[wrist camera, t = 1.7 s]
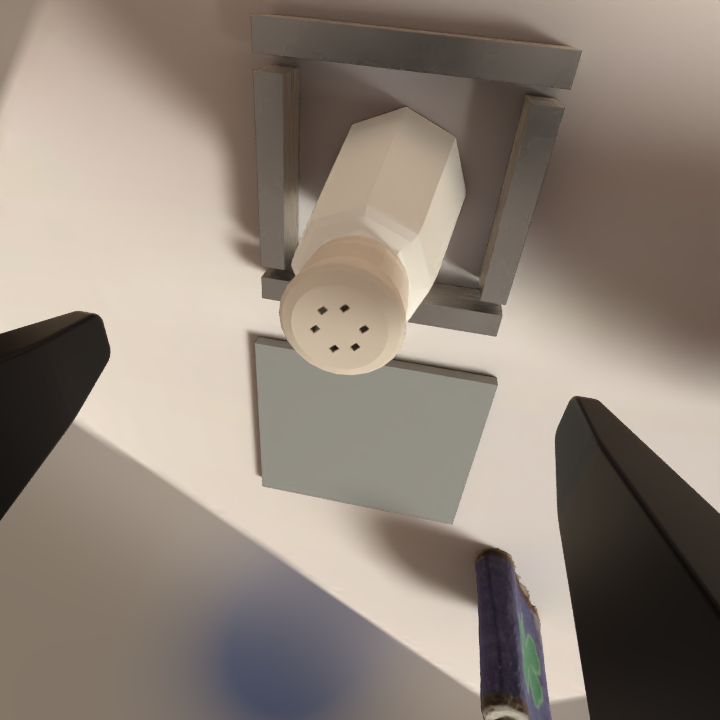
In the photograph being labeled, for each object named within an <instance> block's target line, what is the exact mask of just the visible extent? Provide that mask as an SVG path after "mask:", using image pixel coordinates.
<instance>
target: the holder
mask: <svg viewBox="0 0 720 720" xmlns="http://www.w3.org/2000/svg"><path fill="white" fill-rule="evenodd" d="M251 31H252V52H253V53H261V54H270V55H278V56H287V57H295V58H304V59H313V60H321V61H330V62H338V63H347V64H355V65H364V66H372V67H381V68H390V69H398V70H407V71H415V72H424V73H432V74H441V75H449V76H458V77H466V78H475V79H484V80H492V81H501V82H509V83H518V84H526V85H535V86H543V87H552V88H560V89H569V90H570V89H571V86H572V82H573V79H574V76H575V72H576V69H577V66H578V62H579V59H580V56H581V52H582V51H581V50H579V49H576V48H573V47H570V46H561V45H552V44H543V43H533V42H524V41H515V40H506V39H497V38H488V37H478V36H469V35H460V34H451V33H442V32H433V31H423V30H414V29H405V28H396V27H387V26H378V25H368V24H359V23H350V22H341V21H332V20H323V19H313V18H304V17H295V16H286V15H277V14H251ZM253 81H254V106H255V130H256V155H257V180H258V205H259V230H260V255H261V266H263V267H269V268H268V269H267V270H266V272H265V273H264V274H263V276H262V277H261V279H262V298H265V299H271V300H277V301H281V297H282V295H283V293H284V291H285V289H286V287H287V285H288V284H289V283H290V282H291V281H292V279H293V278H294V277H295V274H294V271H293V269H292V266H291V263H292V258H293V257H294V254H295V251H296V249H297V247H298V179H299V68H295V67H286V66H278V65H270V66H267V67H263V68H260V69H256V70H253ZM564 109H565V108H564V107H563V106H562V105H561V104H560V103H559V102H558V101H557V100H556V99H555V98H547V97H539V96H530V95H526V96H525V100H524V104H523V108H522V112H521V115H520V119H519V123H518V127H517V131H516V135H515V139H514V143H513V147H512V151H511V155H510V159H509V163H508V167H507V171H506V175H505V179H504V183H503V186H502V190H501V194H500V198H499V202H498V206H497V210H496V214H495V218H494V222H493V226H492V230H491V234H490V238H489V242H488V246H487V250H486V253H485V257H484V261H483V265H482V269H481V273H480V277H479V286H480V289H474V288H467V287H461V286H454V285H448V284H442V283H435V282H434V283H433V285H432V287H431V289H430V290H429V292H428V293H427V295H426V296H425V298H424V299H423V301H422V302H421V303H420V305H419V306H418V308H417V309H416V311H415V312H414V313H413V315H412V316H411V318H410V319H409V320H408V322H411V323H417V324H423V325H429V326H435V327H441V328H447V329H453V330H459V331H465V332H471V333H477V334H484V335H490V336H497V332H498V329H499V326H500V322H501V319H502V308H501V304H503V305H506V302H507V299H508V296H509V292H510V289H511V286H512V282H513V279H514V276H515V272H516V269H517V266H518V262H519V259H520V256H521V252H522V249H523V246H524V242H525V239H526V236H527V232H528V229H529V226H530V222H531V219H532V216H533V212H534V209H535V206H536V202H537V199H538V196H539V192H540V189H541V186H542V182H543V179H544V176H545V172H546V169H547V166H548V162H549V159H550V156H551V152H552V149H553V146H554V142H555V139H556V136H557V132H558V129H559V126H560V122H561V119H562V116H563V112H564Z"/></svg>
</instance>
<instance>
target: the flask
mask: <svg viewBox="0 0 720 720" xmlns="http://www.w3.org/2000/svg"><path fill="white" fill-rule="evenodd" d="M475 558H476V560H475V568H476V574H477V592H478V616H479V646H480V678H481V684H480V688H481V690H480V698H481V711H482V714H483V718H484V720H552V719H551V712H550V705H549V697H548V690H547V681H546V673H545V664H544V654H543V646H542V637H541V632H540V630H541V623H540V620H539V617H538V613H537V609H536V607H534V608H533V606H532V605H531V602H530V600H529V599H530V598H529V597H530V596H529V594H528V592H529V591H527V590H526V587H524V586H522V585H521V584H520V583H519V580H518V579H519V578H521V577H519V576H518V575H517V574H516V573H515V568H516V567H515V566H514V562H513V560H512V557H511V555H509V554H508V553H506V552H505V553H504V551H502V550H500V549H498V548H497V549H486V550H482V551H480V552H478V553H477V555H476V556H475Z"/></svg>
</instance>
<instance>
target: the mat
mask: <svg viewBox="0 0 720 720" xmlns="http://www.w3.org/2000/svg"><path fill="white" fill-rule="evenodd" d="M255 356H256V375H257V393H258V412H259V431H260V449H261V468H262V486H264V487H269V488H274V489H278V490H283V491H288V492H293V493H298V494H303V495H308V496H313V497H318V498H323V499H328V500H333V501H338V502H343V503H348V504H353V505H358V506H363V507H368V508H373V509H378V510H383V511H388V512H393V513H398V514H403V515H408V516H413V517H418V518H423V519H428V520H433V521H437V522H442V523H447V524H453V521H454V518H455V515H456V512H457V509H458V506H459V502H460V499H461V496H462V493H463V490H464V487H465V484H466V481H467V478H468V475H469V472H470V469H471V466H472V463H473V459H474V456H475V453H476V450H477V447H478V444H479V441H480V438H481V435H482V432H483V429H484V426H485V423H486V420H487V416H488V413H489V410H490V407H491V404H492V401H493V398H494V395H495V392H496V389H497V386H498V384H497V378H496V377H490V376H484V375H478V374H472V373H467V372H461V371H455V370H449V369H443V368H438V367H432V366H426V365H420V364H414V363H409V362H403V361H397V360H391V361H389V362H388V363H387V364H385V365H384V366H383V367H381V368H379V369H376V370H374V371H371V372H369V373H364V374H357V375H342V374H335V373H331V372H328V371H324V370H322V369H320V368H318V367H316V366H314V365H312V364H310V363H309V362H307V361H306V360H305V359H304V358H303V357H301V356H300V355H299V354H298V353H297V352H296V351H295V350H294V348H293V347H292V346H291V344H290V343H289V342H287V341H281V340H275V339H269V338H263V337H258V339H257V340H256V342H255Z"/></svg>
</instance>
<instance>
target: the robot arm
mask: <svg viewBox="0 0 720 720" xmlns="http://www.w3.org/2000/svg"><path fill="white" fill-rule="evenodd" d="M109 358H110V345H109V342H108V338H107V334H106V331H105V327H104V323H103V320H102V318H101V317H100V316H99V315H97V314H94V313H88V312H83V311H75V312H71V313H68V314H65V315H61V316H58V317H55V318H51V319H48V320H45V321H41V322H38V323H35V324H31V325H28V326H24V327H21V328H18V329H14V330H11V331H8V332H4V333H1V334H0V520H1V519H2V518H3V516H4V515H5V514H6V512H7V511H8V510H9V508H10V507H11V506H12V504H13V503H14V502H15V500H16V499H17V497H18V496H19V495H20V493H21V492H22V491H23V489H24V488H25V487H26V485H27V484H28V482H29V481H30V479H31V478H32V477H33V476H34V474H35V473H36V472H37V470H38V469H39V468H40V466H41V465H42V463H43V462H44V461H45V459H46V458H47V457H48V455H49V454H50V453H51V451H52V450H53V448H54V447H55V446H56V444H57V443H58V442H59V440H60V439H61V437H62V436H63V435H64V434H65V432H66V431H67V429H68V428H69V426H70V425H71V424H72V422H73V421H74V419H75V417H76V416H77V414H78V412H79V411H80V409H81V407H82V406H83V404H84V402H85V401H86V399H87V397H88V395H89V394H90V392H91V390H92V388H93V387H94V385H95V383H96V382H97V380H98V378H99V376H100V375H101V373H102V371H103V370H104V368H105V366H106V364H107V363H108V361H109ZM555 457H556V487H557V511H558V521H559V529H560V535H561V541H562V547H563V553H564V560H565V566H566V572H567V578H568V584H569V591H570V597H571V603H572V609H573V616H574V622H575V628H576V634H577V640H578V647H579V653H580V659H581V665H582V671H583V678H584V684H585V690H586V696H587V703H588V709H589V714H590V720H720V513H718V512H717V511H716V510H715V509H714V508H713V507H712V506H711V505H710V504H709V503H708V502H707V501H706V500H705V499H704V498H702V497H701V496H700V495H699V494H698V493H697V492H696V491H695V490H694V489H693V488H692V487H691V486H690V485H689V484H687V483H686V482H685V481H684V480H683V479H682V478H681V477H680V476H679V475H678V474H677V473H676V472H675V471H674V470H673V469H671V468H670V467H669V466H668V465H667V464H666V463H665V462H664V461H663V460H662V459H661V458H660V457H659V456H658V455H657V454H655V453H654V452H653V451H652V450H651V449H650V448H649V447H648V446H647V445H646V444H645V443H644V442H643V441H642V440H640V439H639V438H638V437H637V436H636V435H635V434H634V433H633V432H632V431H631V430H630V429H629V428H628V427H627V426H626V425H624V424H623V423H622V422H621V421H620V420H619V419H618V418H617V417H616V416H615V415H614V414H613V413H612V412H611V411H610V410H608V409H607V408H606V407H605V406H604V405H603V404H602V403H601V402H600V401H598V400H597V399H592V398H587V397H581V396H575V397H572V399H571V400H570V401H569V403H568V405H567V408H566V410H565V412H564V414H563V416H562V419H561V421H560V423H559V425H558V428H557V431H556V435H555Z"/></svg>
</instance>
